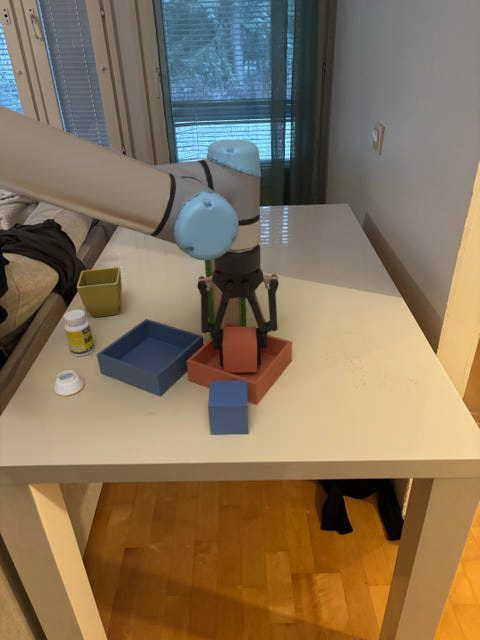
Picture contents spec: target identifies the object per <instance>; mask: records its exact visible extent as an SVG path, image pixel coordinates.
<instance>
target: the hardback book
mask: <svg viewBox="0 0 480 640" xmlns="http://www.w3.org/2000/svg"><path fill="white" fill-rule="evenodd" d="M204 269H205V278H206V277H210V276H212V275H213V273H214V270H215V265H214V259H212V260H204ZM221 295H222V292H221V290H220V289H219V288H218V287H217V286H216V285H215V284H214V283H213V284H212V288H211V290H209V323H213V322H214V319H215V315H216V312H217V308H218V305H219V302H220V298H221ZM246 300H247V298H240V297H237V298H230V300H229V303H228V305H227V308H226V311H225V315H224V318H223V321H222V324H221V328H223V327H224V326H226V325H227V324H231V325H234V326H238V327H247V307H246V306H247V304H246V302H247V301H246ZM209 337H210V339H211V338H212V334H210V333H209ZM210 339H209V340H210Z"/></svg>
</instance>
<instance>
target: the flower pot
mask: <svg viewBox="0 0 480 640" xmlns="http://www.w3.org/2000/svg"><path fill="white" fill-rule="evenodd" d="M121 272H122V271H121V267H119V266H116V267H114V266H113V267H107V268H100V269H99V268H98V269H86V270H81V272H80V275H79V278H78V281H77V285H76V290H77V293H78V296H79V297H80V300H81V302H82V304H83V307H84V308H85V309H86V311H87V312H88V313H89V314H90V315H92V316H93V318H100V317H109V316H116V315H118V313H119V310H120V304H121V297H122V288H123V287H122V286H123V285H122V273H121Z"/></svg>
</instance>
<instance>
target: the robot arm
mask: <svg viewBox="0 0 480 640" xmlns="http://www.w3.org/2000/svg"><path fill="white" fill-rule="evenodd" d="M261 177H262V172H261V157H260V150H259V148H258V146H257V144H255V142H252V141H250V140H244V139H224V140H219V141H213V142H212V143H210V144H209V145H208V147H207V154H206V158H204V159H200V160H193V161H184V162H176V163H175V162H173V163H165V164H154V165H153V164H149V163H146V162H143V161H141V160H138V159H136V158H133V157H131V156H129V155H126V154H123V153H121V152H118V151H116V150H114V149H111V148H108V147H106V146H103V145H101V144H99V143H96V142H93V141H91V140H88V139H86V138H83V137H82V136H79V135H76V134H74V133H71V132H68V131H65V130H64V129H61V128H58V127H56V126H54V125H51V124H48V123H46V122H43V121H41V120H38V119H36V118H33V117H31V116H28V115H26V114H23V113H21V112H18V111H15V110H13V109H11V108H8V107H7V106H3V105H1V104H0V190H3V191H6V192H9V193H12V194H14V195H15V194H16V195H19V196H22V197H25V198H27V199H31V200H35V201H38V202H41V203H44V204H47V205H50V206H54V207H57V208H60V209H63V210H67V211H70V212H73V213H76V214H79V215H82V216H86V217H89V218H93V219H95V220H99V221H102V222H105V223H108V224H112V225H115V226H118V227H120V228H124V229H127V230H130V231H134V232H137V233H141V234H144V235H147V236H150V237H153V238H155V239H159V240H162V241H165V242H168V243H171V244H174V245H176V246H177V248H178V249H179V250H180V251H182V252H183V253H184V254H186V255H188V256H189V257H191V258H192V259H195V260H199V261H205V260H212V259H214V265H215V270H214V273H213V275H212V276H210V277H206V276H202V275H201V276H199V277H198V278H197V279H198V280H197V284H196V285H197V289H198V291H199V294H200V307H201V308H200V315H201V316H200V330H201V333H203V334H207V333H208V334H209V335H210V334H212V341H213V348H214V349H219V354H220V366H224V365H223V346H222V344H223V328H221V324H222V321H223V318H224V315H225V311H226V308H227V305H228V303H229V300H230V298H237V297H240V298H245V299H246V300H247V302H248V305H249V306H250V310H251V311H252V314H253V317H254V319H255V322H256V325H257V327H256V339H257V366H259V365H261V348H266V347H267V335H268V333H269V332H277V330H278V313H277V312H278V311H277V296H276V295H277V294H276V293H277V290H278V288H279V286H280V285H279V283H280V282H279V277H278V275H277V274H271V275H268V274H264V272H263V271H262V269H261V244H260V242H261ZM213 283H214V284H215V285H216V286H217V287H218V288H219V289H220V290H221V292H222V295H221V298H220V302H219V305H218V308H217V312H216V315H215V319H214V322H213V323H209V290H211V288H212V284H213ZM262 283H263V284H264V288H265V289H266V290H267V299H268V314H269V315H268V316H269V317H268V318H269V320H268V321H266V318H265V316H264V314H263V311H262V308H261V305H260V302H259V300H258V297H257V293H256V290H257V289H258V288H259V286H260V285H261V284H262Z"/></svg>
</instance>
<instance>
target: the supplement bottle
mask: <svg viewBox="0 0 480 640" xmlns="http://www.w3.org/2000/svg"><path fill="white" fill-rule="evenodd" d="M63 318H64V323H65V324H64V331H65V335H66V339H67V343H68V348H69V351H70V353H71V355H73V356H75V357H84V356H87V355H90V354H91V353H93V351H94V350H95V343H94V337H93V333H92V329H91V324H90V321H89V320H88V318H87V315H86V312H85V311H84V310H82V309H73V310H69V311H67V312H66V313H65V314H64V315H63Z"/></svg>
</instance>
